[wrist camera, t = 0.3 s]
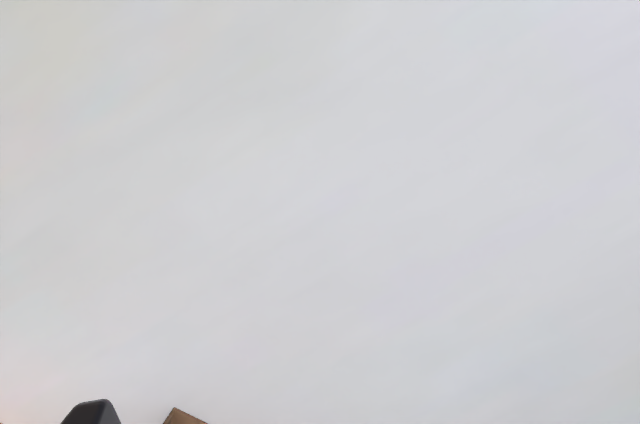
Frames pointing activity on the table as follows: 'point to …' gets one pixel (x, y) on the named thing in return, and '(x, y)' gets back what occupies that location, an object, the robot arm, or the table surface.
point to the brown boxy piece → (181, 418)
